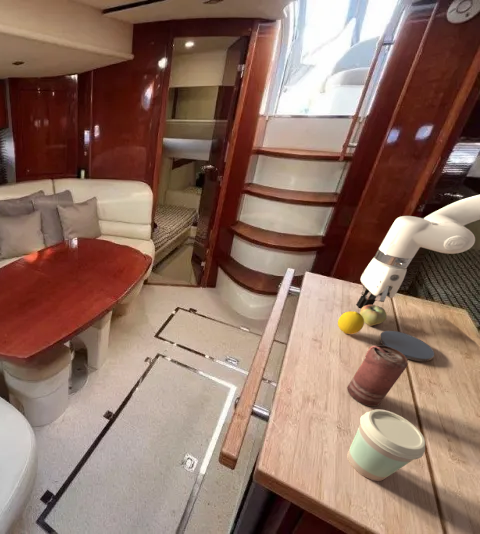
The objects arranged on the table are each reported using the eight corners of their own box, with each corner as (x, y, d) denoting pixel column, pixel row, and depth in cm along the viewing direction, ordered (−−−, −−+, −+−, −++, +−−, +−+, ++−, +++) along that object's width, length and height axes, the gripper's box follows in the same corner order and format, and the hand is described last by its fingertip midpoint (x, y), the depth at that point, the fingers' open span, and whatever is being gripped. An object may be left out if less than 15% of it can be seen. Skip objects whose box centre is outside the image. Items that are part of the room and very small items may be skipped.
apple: (383, 320, 96) (392, 305, 93) (378, 332, 91) (388, 317, 88) (359, 311, 100) (367, 297, 97) (353, 322, 95) (362, 307, 92)
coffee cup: (394, 462, 60) (428, 425, 54) (394, 500, 54) (432, 464, 48) (340, 434, 65) (366, 398, 59) (335, 466, 59) (362, 430, 53)
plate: (415, 337, 89) (417, 334, 88) (442, 366, 80) (445, 362, 79) (370, 331, 92) (372, 327, 91) (391, 358, 82) (394, 354, 82)
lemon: (332, 324, 95) (343, 304, 91) (355, 330, 92) (367, 309, 88) (334, 335, 91) (345, 314, 87) (358, 342, 88) (370, 320, 84)
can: (348, 380, 77) (374, 339, 70) (381, 397, 72) (412, 354, 65) (341, 394, 73) (367, 352, 66) (375, 412, 69) (407, 369, 62)
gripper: (424, 272, 82) (389, 324, 91) (392, 248, 94) (364, 296, 104) (391, 269, 84) (360, 320, 93) (364, 245, 96) (339, 292, 106)
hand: (362, 307), depth 99 cm, fingers closed
